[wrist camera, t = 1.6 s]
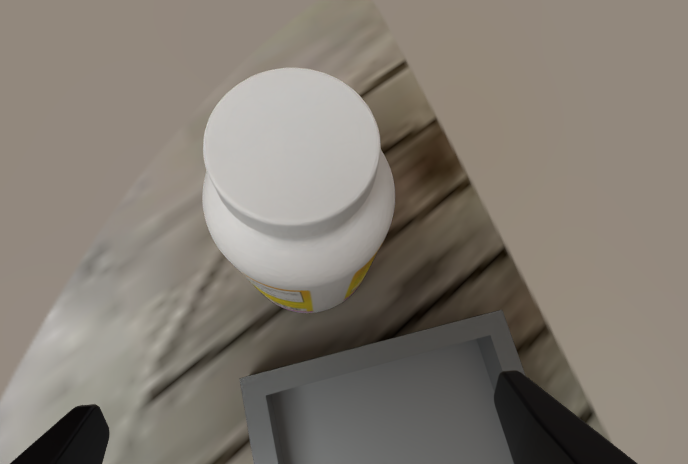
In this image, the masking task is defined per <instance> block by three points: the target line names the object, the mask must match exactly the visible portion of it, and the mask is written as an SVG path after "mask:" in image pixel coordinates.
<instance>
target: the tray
mask: <svg viewBox="0 0 688 464" xmlns="http://www.w3.org/2000/svg"><path fill="white" fill-rule="evenodd" d="M512 370H517V371H519V372H521V373H522V374H524V375H525V373H524V370H523V367H522V364H521V361H520V359H519V356H518V353H517V350H516V347H515V345H514V342H513V339H512V336H511V333H510V330H509V328H508V325H507V322H506V319H505V316H504V313H503V311H502V310H499V311H495V312H491V313H487V314H482V315H479V316H475V317H471V318H467V319H463V320H460V321H456V322H452V323H448V324H444V325H441V326H437V327H433V328H429V329H425V330H421V331H418V332H414V333H410V334H406V335H402V336H399V337H395V338H391V339H387V340H383V341H379V342H376V343H372V344H368V345H364V346H360V347H357V348H353V349H349V350H345V351H341V352H337V353H334V354H330V355H326V356H322V357H318V358H315V359H311V360H307V361H303V362H299V363H296V364H292V365H288V366H284V367H280V368H276V369H273V370H269V371H265V372H261V373H257V374H254V375H250V376H246V377H243V378H240V384H241V390H242V396H243V402H244V408H245V414H246V420H247V426H248V432H249V437H250V443H251V449H252V455H253V461H254V464H514V463H513V460H512V457H511V453H510V450H509V447H508V444H507V441H506V438H505V435H504V432H503V429H502V426H501V423H500V420H499V417H498V414H497V411H496V408H495V404H494V392H495V388H496V384H497V380H498V376H499V374H500V373H501V372H502V371H512Z"/></svg>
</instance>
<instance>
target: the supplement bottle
mask: <svg viewBox="0 0 688 464" xmlns="http://www.w3.org/2000/svg"><path fill="white" fill-rule="evenodd" d="M203 154H204V162H205V166H206V170H207V171H206V175H205V179H204V184H203V199H202V201H203V209H204V215H205V219H206V223H207V226H208V229H209V232H210V234H211V236H212V238H213V240H214V242H215V244H216V245H217V247H218V248H219V250H220V251H221V252H222V254H223V255H224V256H225V257H226V258H227V259H228V260H229V261H230V262H231V263H232V264H233V265H234V266H235V267H236V268H237V269H238V270H239V271H240V272H241V273H242V274H243V275H244V276H245V277H246V278H247V279H248V280H249V281H250V282H251V283H252V284H253V285H254V286H255V287H256V288H257V289H258V290H259V291H260V292H261V293H262V294H263V295H264V296H265V297H267V298H268V299H269V300H270V301H272V302H273V303H275V304H277V305H278V306H280V307H282V308H285V309H287V310H291V311H295V312H300V313H315V312H322V311H325V310H328V309H331V308H333V307H335V306H337V305H339V304H341V303H342V302H344V301H345V300H346V299H348V298H349V297H350V296H351V295H352V294H353V293H354V292H355V290H356V289H357V288H358V287H359V285H360V284H361V282H362V281H363V279H364V277H365V275H366V273H367V271H368V269H369V267H370V265H371V263H372V261H373V259H374V257H375V255H376V254H377V252H378V250H379V248H380V247H381V245H382V243H383V241H384V239H385V237H386V235H387V233H388V230H389V228H390V225H391V222H392V218H393V214H394V208H395V185H394V180H393V175H392V172H391V169H390V166H389V164H388V162H387V160H386V158H385V156H384V154H383V152H382V150H381V145H380V134H379V129H378V126H377V123H376V120H375V118H374V116H373V114H372V112H371V110H370V109H369V107H368V105H367V104H366V103H365V102H364V100H363V99H362V98H361V97H360V96H359V95H358V93H356V92H355V91H354V90H353V89H352V88H351V87H350V86H348V85H347V84H345V83H344V82H342V81H341V80H339V79H337V78H335V77H333V76H331V75H328V74H326V73H323V72H320V71H316V70H311V69H304V68H280V69H273V70H269V71H265V72H261V73H259V74H256V75H254V76H251V77H249V78H247V79H246V80H244V81H242V82H241V83H239V84H238V85H236V86H235V87H234V88H232V89H231V90H230V91H229V92H228V93H227V94H226V95H225V96H224V97H223V98H222V99H221V100H220V101H219V103H218V104H217V105H216V107H215V108H214V110H213V112H212V114H211V116H210V118H209V120H208V123H207V126H206V129H205V134H204V143H203Z"/></svg>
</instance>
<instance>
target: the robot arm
mask: <svg viewBox="0 0 688 464" xmlns="http://www.w3.org/2000/svg"><path fill="white" fill-rule="evenodd" d="M494 404H495V408H496V411H497V414H498V417H499V420H500V423H501V426H502V429H503V432H504V435H505V438H506V441H507V444H508V447H509V450H510V453H511V457H512V460H513V463H514V464H637V463H636V462H635V461H634V460H632V459H631V458H630V457H628V456H627V455H626V454H625V453H623V452H622V451H621V450H620V449H618V448H617V447H616V446H614V445H613V444H612V443H611V442H609V441H608V440H607V439H605V438H604V437H603V436H602V435H600V434H599V433H598V432H597V431H595V430H594V429H593V428H591V427H590V426H589V425H588V424H586V423H585V422H584V421H582V420H581V419H580V418H579V417H577V416H576V415H575V414H574V413H572V412H571V411H570V410H568V409H567V408H566V407H565V406H563V405H562V404H561V403H559V402H558V401H557V400H556V399H554V398H553V397H552V396H551V395H549V394H548V393H547V392H545V391H544V390H543V389H542V388H540V387H539V386H538V385H536V384H535V383H534V382H533V381H531V380H530V379H529V378H528V377H526V376H525V375H524V374H522V373H521V372H519V371H517V370H512V371H502V372H501V373H500V374H499V376H498V380H497V384H496V388H495V392H494ZM108 440H109V427H108V425H107V423H106V420H105V418H104V416H103V414H102V411H101V409H100V407H99V406H97V405H95V404H92V405H80V406H77V407H75V408H73V409H72V410H71V411H70V412H68V413H67V414H66V415H65V416H64V417H63V418H62V419H60V420H59V421H58V422H57V423H56V424H55V425H54V426H52V427H51V428H50V429H49V430H48V431H47V432H46V433H44V434H43V435H42V436H41V437H40V438H39V439H38V440H36V441H35V442H34V443H33V444H32V445H31V446H30V447H28V448H27V449H26V450H25V451H24V452H23V453H22V454H20V455H19V456H18V457H17V458H16V459H15V460H14V461H12V462H11V463H10V464H102V462H103V458H104V455H105V451H106V447H107V444H108Z"/></svg>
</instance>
